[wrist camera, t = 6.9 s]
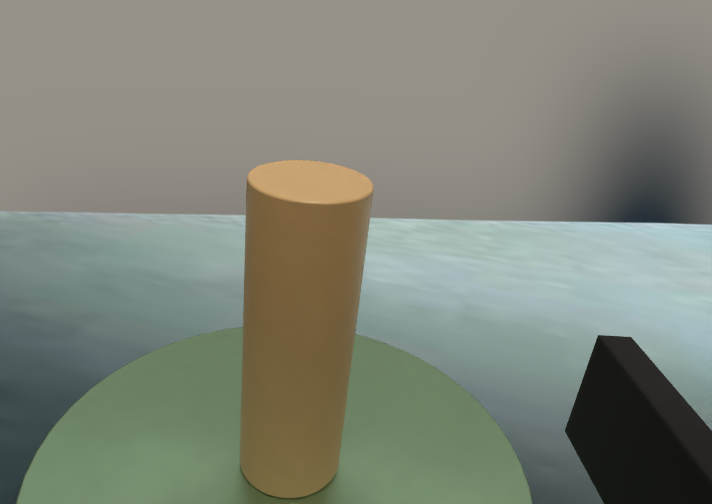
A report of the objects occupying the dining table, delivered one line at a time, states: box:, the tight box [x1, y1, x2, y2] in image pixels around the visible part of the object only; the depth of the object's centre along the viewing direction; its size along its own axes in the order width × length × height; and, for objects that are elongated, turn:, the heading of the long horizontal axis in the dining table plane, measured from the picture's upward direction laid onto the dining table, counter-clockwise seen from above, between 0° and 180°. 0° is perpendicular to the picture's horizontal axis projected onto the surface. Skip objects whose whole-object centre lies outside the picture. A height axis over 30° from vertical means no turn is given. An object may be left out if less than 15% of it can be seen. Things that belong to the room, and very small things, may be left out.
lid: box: [15, 160, 533, 504], centre depth 16 cm, size 15×15×10 cm
